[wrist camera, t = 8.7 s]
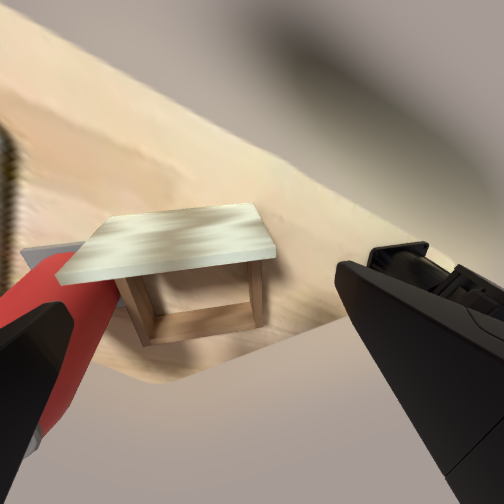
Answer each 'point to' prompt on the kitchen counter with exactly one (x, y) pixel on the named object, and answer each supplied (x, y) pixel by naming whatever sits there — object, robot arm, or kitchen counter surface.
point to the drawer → (176, 264)
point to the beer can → (84, 333)
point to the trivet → (39, 253)
